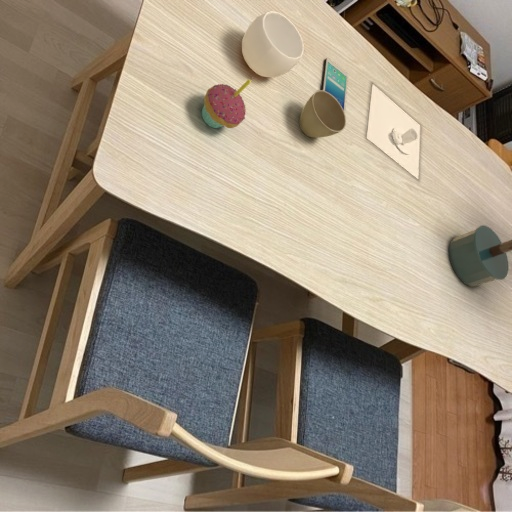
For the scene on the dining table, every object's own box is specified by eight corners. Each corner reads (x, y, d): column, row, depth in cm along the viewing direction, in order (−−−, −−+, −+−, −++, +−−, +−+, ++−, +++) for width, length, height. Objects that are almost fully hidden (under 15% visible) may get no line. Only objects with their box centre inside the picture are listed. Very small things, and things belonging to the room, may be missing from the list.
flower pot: (326, 124, 132) (348, 108, 127) (319, 155, 127) (343, 140, 122) (294, 98, 128) (316, 81, 123) (286, 129, 123) (309, 112, 118)
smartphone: (348, 73, 144) (344, 116, 137) (345, 74, 145) (342, 118, 137) (327, 56, 141) (322, 99, 133) (324, 58, 141) (319, 101, 134)
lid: (499, 236, 154) (528, 225, 148) (508, 286, 148) (539, 277, 142) (467, 219, 146) (497, 207, 140) (475, 272, 139) (507, 262, 134)
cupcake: (201, 89, 110) (238, 53, 102) (234, 116, 114) (273, 84, 105) (187, 119, 105) (225, 84, 97) (223, 146, 109) (262, 115, 100)
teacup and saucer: (388, 142, 147) (401, 134, 144) (390, 120, 151) (402, 112, 148) (410, 160, 151) (423, 153, 148) (411, 138, 155) (424, 131, 152)
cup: (284, 71, 129) (314, 46, 122) (262, 97, 121) (292, 71, 114) (247, 28, 126) (275, -1, 119) (222, 51, 118) (251, 22, 111)
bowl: (475, 246, 158) (500, 236, 153) (483, 292, 152) (509, 283, 147) (445, 231, 151) (471, 221, 145) (452, 279, 145) (479, 270, 140)
